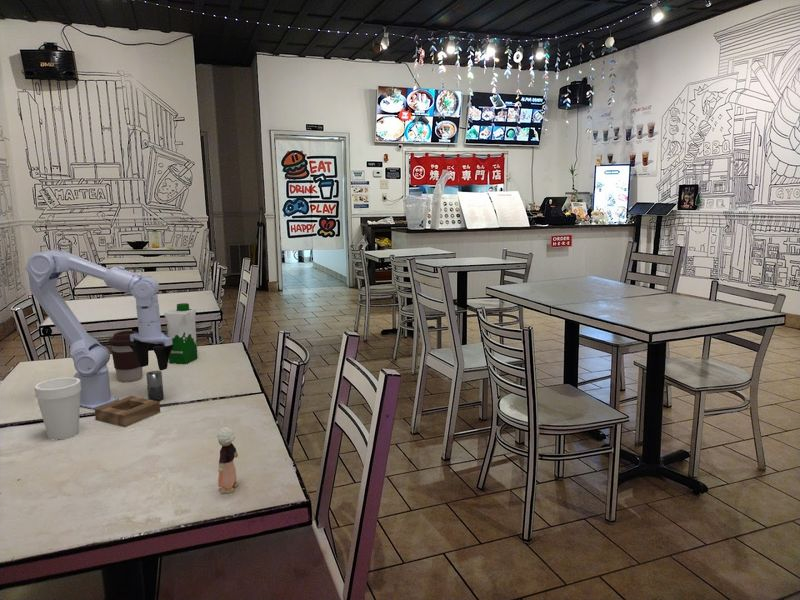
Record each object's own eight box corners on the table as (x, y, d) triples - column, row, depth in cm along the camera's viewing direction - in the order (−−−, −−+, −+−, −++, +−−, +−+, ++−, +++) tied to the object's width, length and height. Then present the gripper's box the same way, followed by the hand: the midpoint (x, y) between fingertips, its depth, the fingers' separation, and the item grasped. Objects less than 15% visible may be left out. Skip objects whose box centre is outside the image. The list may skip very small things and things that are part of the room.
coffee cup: (153, 377, 182) (149, 331, 179) (124, 385, 174) (120, 338, 171) (135, 372, 187) (131, 328, 185) (106, 380, 179) (101, 334, 176)
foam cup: (94, 429, 141) (89, 379, 139) (61, 445, 132) (55, 391, 130) (65, 425, 144) (60, 375, 142) (31, 439, 135) (25, 387, 133)
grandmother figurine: (222, 480, 116) (219, 421, 114) (241, 479, 116) (238, 420, 114) (213, 499, 108) (209, 437, 106) (234, 498, 109) (230, 436, 106)
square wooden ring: (95, 419, 147) (94, 408, 147) (131, 406, 157) (130, 395, 156) (125, 427, 143) (124, 415, 142) (160, 412, 152) (159, 401, 152)
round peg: (145, 400, 161) (143, 373, 160) (156, 396, 165) (154, 370, 163) (155, 403, 159) (153, 375, 158) (166, 398, 163) (164, 371, 161)
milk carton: (201, 358, 204) (197, 303, 200) (188, 365, 195) (184, 308, 191) (178, 357, 205) (174, 302, 202) (164, 364, 196) (160, 307, 193)
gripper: (179, 319, 158) (183, 366, 160) (143, 315, 164) (147, 361, 167) (158, 325, 152) (163, 374, 154) (121, 320, 158) (126, 367, 161)
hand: (153, 367), depth 160 cm, fingers open, 7 cm apart
